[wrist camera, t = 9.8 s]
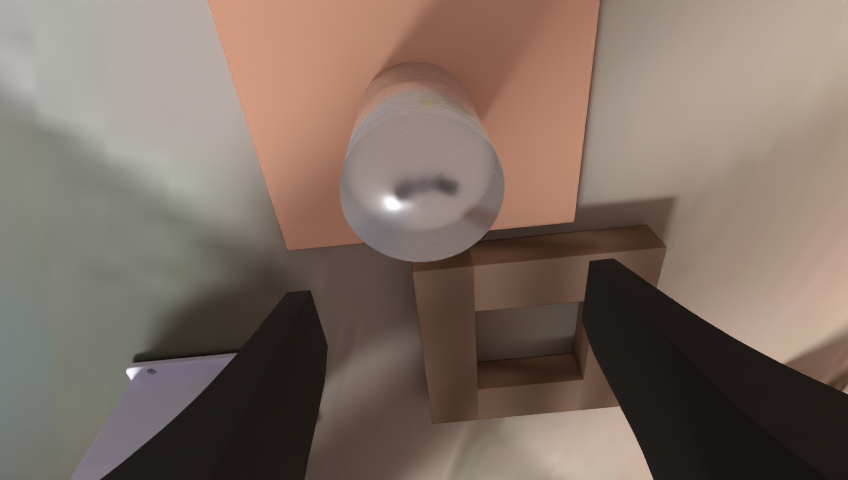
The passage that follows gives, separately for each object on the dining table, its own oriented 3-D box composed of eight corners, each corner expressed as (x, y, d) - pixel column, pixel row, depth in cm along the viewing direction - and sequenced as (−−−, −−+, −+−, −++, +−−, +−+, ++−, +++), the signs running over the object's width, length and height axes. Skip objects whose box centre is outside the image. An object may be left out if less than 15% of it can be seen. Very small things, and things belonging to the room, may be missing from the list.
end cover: (373, 185, 20) (363, 273, 14) (343, 75, 17) (316, 132, 12) (480, 164, 19) (510, 247, 14) (465, 50, 17) (496, 96, 11)
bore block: (430, 396, 29) (432, 423, 27) (411, 248, 22) (412, 272, 21) (611, 379, 29) (624, 405, 27) (647, 225, 22) (667, 247, 21)
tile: (289, 243, 22) (287, 250, 21) (201, -41, 15) (194, -40, 15) (569, 215, 22) (574, 222, 21) (603, -84, 15) (609, -85, 15)
